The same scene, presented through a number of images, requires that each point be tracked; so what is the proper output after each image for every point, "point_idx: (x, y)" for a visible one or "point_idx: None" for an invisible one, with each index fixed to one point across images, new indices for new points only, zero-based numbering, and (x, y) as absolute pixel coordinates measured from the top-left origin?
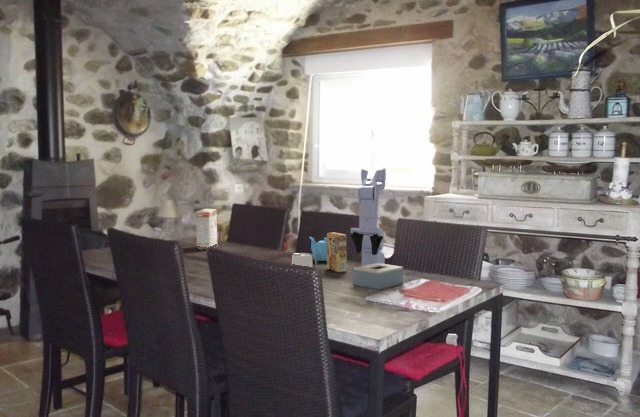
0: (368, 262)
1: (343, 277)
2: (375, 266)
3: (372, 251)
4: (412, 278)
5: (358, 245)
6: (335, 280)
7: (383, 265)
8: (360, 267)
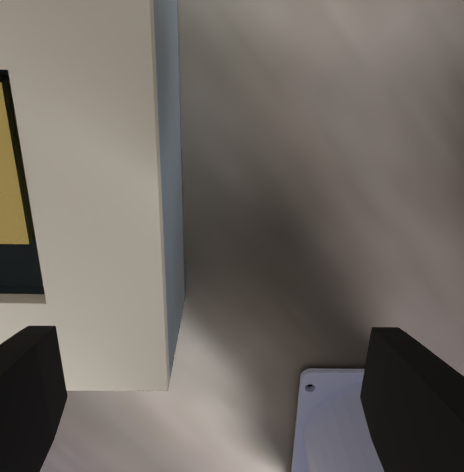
0: (372, 455)
1: (455, 185)
2: (38, 235)
3: (5, 350)
4: (46, 461)
5: (429, 447)
6: (449, 27)
7: (5, 320)
8: (87, 14)
